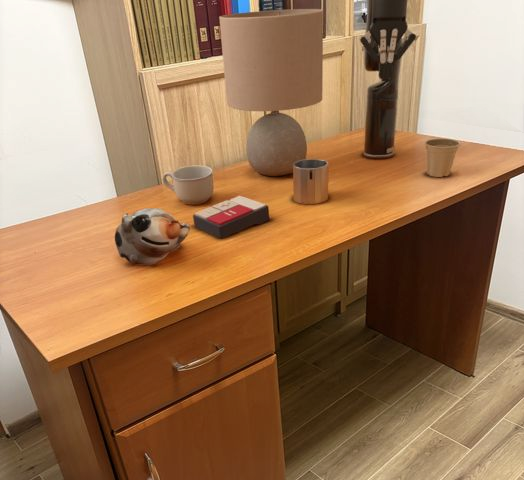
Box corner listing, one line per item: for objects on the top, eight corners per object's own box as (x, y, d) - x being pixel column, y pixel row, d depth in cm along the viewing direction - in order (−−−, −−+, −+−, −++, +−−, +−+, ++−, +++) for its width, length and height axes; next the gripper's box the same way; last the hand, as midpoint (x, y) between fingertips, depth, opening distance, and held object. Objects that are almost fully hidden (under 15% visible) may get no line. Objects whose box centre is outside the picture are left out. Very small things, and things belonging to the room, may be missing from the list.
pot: (327, 156, 141) (293, 157, 142) (329, 169, 132) (292, 171, 132) (326, 190, 146) (293, 191, 147) (328, 205, 137) (293, 206, 137)
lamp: (325, 158, 172) (326, 7, 148) (317, 185, 150) (318, 13, 127) (243, 159, 176) (232, 12, 153) (224, 185, 155) (208, 19, 131)
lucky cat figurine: (183, 238, 124) (193, 192, 113) (181, 279, 117) (192, 234, 106) (116, 227, 120) (120, 179, 109) (110, 268, 114) (114, 221, 102)
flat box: (191, 212, 128) (240, 192, 135) (194, 229, 130) (242, 209, 137) (219, 223, 121) (268, 202, 128) (221, 241, 123) (270, 219, 130)
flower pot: (452, 168, 156) (456, 137, 151) (458, 178, 148) (463, 146, 143) (419, 169, 157) (422, 138, 152) (423, 179, 149) (427, 147, 144)
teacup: (222, 196, 147) (219, 166, 143) (202, 209, 139) (199, 178, 135) (179, 191, 152) (175, 163, 148) (158, 204, 144) (153, 174, 140)
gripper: (418, -10, 120) (410, 76, 130) (358, -6, 121) (354, 79, 131) (424, -9, 114) (416, 81, 123) (361, -5, 115) (357, 84, 124)
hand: (384, 80), depth 127 cm, fingers closed
